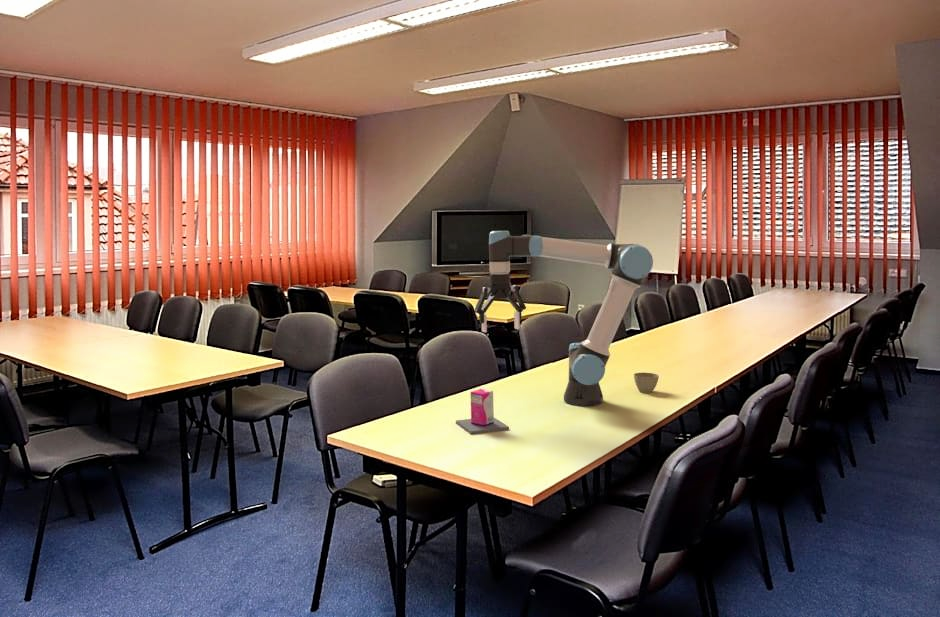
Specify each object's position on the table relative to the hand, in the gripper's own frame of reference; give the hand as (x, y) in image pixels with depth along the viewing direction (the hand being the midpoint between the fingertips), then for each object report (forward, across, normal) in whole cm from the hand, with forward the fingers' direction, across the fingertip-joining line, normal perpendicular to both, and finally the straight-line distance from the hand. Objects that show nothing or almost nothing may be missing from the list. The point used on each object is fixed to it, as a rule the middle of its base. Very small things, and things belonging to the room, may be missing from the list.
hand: (500, 330), depth 273 cm
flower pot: (+31, -66, +1) cm, 73 cm away
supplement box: (+29, +17, +18) cm, 38 cm away
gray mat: (+30, +17, +18) cm, 38 cm away
